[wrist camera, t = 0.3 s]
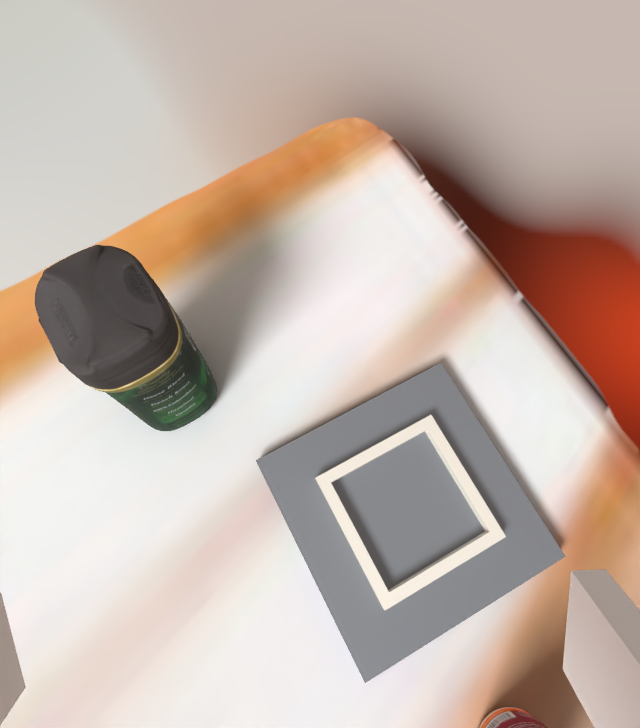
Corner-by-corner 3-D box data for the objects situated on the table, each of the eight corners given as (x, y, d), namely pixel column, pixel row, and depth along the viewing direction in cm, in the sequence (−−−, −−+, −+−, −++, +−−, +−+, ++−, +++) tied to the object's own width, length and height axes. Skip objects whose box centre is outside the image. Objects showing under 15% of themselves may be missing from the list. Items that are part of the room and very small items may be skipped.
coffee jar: (231, 401, 48) (184, 329, 30) (158, 445, 47) (64, 396, 29) (184, 323, 51) (115, 215, 33) (113, 363, 49) (2, 272, 31)
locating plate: (557, 555, 44) (572, 557, 42) (363, 677, 41) (366, 687, 38) (437, 367, 49) (444, 358, 47) (257, 462, 46) (254, 458, 44)
